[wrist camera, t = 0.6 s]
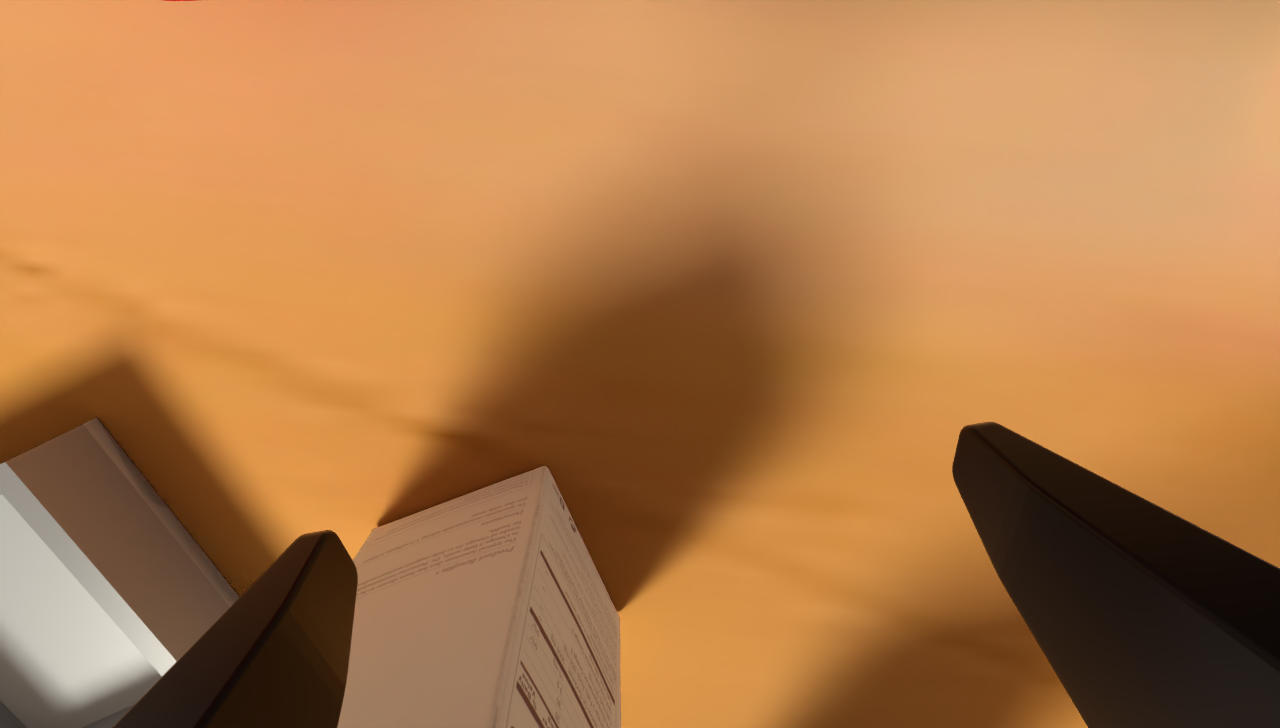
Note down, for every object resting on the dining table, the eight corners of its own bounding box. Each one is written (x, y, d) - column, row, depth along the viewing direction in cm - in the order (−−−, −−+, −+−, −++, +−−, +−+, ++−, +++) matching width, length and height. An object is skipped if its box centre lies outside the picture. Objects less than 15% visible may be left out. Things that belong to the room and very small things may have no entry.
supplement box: (455, 673, 26) (316, 1112, 14) (369, 523, 24) (117, 890, 12) (625, 616, 26) (633, 1022, 13) (553, 458, 23) (486, 772, 11)
